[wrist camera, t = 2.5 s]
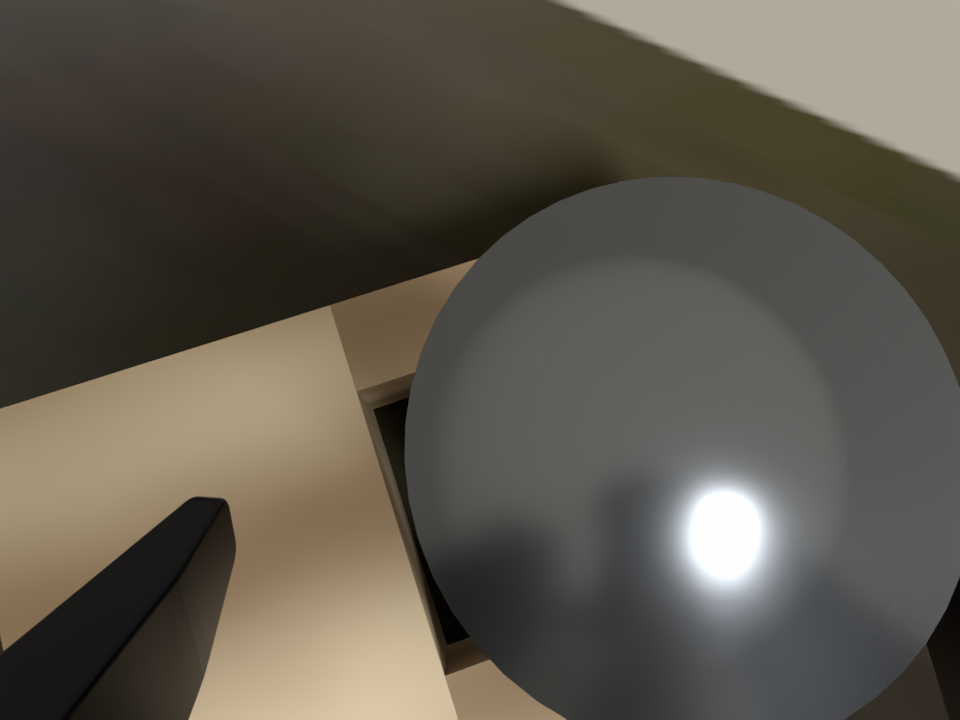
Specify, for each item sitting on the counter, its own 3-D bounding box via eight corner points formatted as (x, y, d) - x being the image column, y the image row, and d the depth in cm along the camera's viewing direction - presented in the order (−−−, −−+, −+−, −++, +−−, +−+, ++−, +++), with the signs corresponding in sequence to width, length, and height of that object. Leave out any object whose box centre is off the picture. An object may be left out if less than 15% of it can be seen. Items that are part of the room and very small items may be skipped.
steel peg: (625, 535, 17) (1075, 630, 5) (473, 589, 17) (517, 852, 4) (570, 384, 18) (832, 114, 5) (422, 434, 18) (332, 268, 5)
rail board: (820, 599, 17) (894, 620, 14) (-236, 998, 15) (-403, 1119, 12) (669, 234, 19) (708, 186, 16) (-295, 542, 17) (-456, 551, 14)
